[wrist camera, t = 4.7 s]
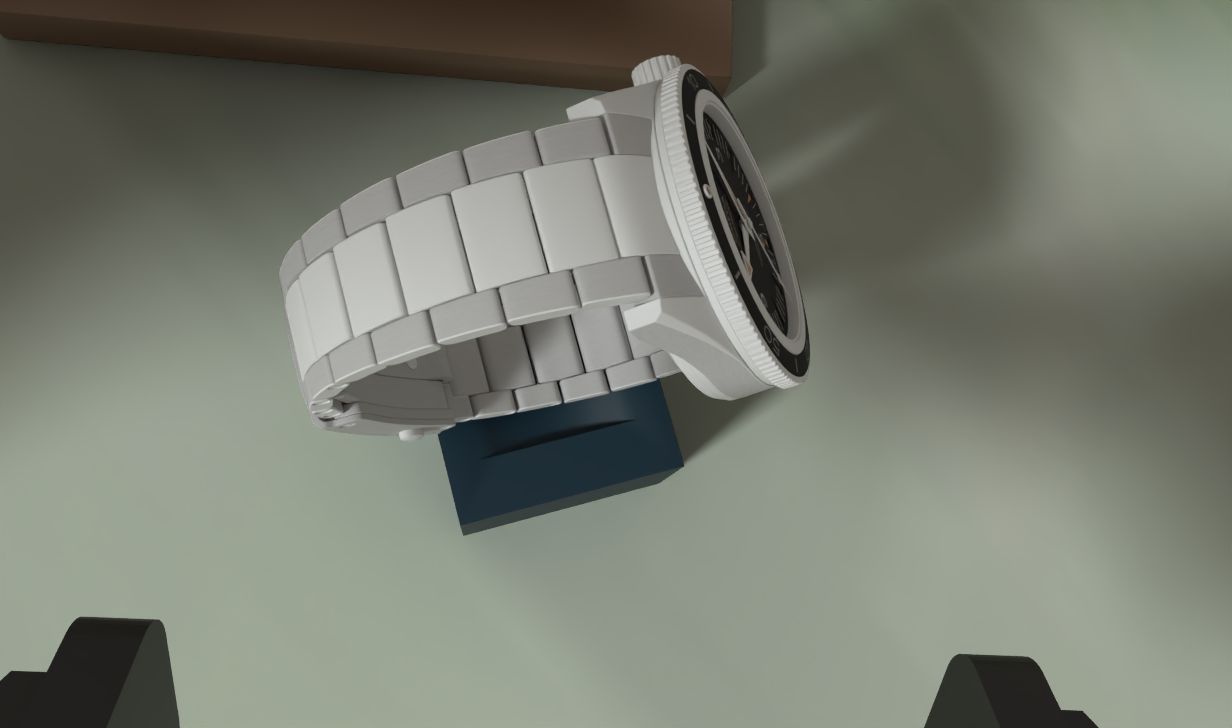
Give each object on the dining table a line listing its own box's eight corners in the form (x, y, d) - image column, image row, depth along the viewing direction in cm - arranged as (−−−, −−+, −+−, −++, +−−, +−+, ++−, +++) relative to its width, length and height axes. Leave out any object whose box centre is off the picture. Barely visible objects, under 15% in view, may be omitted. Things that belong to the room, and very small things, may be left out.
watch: (744, 460, 24) (947, 348, 14) (379, 558, 23) (289, 518, 12) (673, 223, 25) (813, -54, 15) (320, 303, 24) (188, 63, 13)
